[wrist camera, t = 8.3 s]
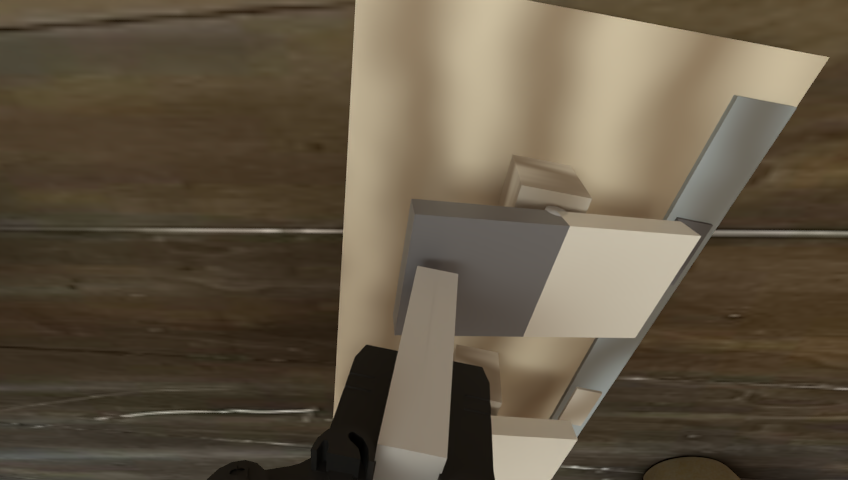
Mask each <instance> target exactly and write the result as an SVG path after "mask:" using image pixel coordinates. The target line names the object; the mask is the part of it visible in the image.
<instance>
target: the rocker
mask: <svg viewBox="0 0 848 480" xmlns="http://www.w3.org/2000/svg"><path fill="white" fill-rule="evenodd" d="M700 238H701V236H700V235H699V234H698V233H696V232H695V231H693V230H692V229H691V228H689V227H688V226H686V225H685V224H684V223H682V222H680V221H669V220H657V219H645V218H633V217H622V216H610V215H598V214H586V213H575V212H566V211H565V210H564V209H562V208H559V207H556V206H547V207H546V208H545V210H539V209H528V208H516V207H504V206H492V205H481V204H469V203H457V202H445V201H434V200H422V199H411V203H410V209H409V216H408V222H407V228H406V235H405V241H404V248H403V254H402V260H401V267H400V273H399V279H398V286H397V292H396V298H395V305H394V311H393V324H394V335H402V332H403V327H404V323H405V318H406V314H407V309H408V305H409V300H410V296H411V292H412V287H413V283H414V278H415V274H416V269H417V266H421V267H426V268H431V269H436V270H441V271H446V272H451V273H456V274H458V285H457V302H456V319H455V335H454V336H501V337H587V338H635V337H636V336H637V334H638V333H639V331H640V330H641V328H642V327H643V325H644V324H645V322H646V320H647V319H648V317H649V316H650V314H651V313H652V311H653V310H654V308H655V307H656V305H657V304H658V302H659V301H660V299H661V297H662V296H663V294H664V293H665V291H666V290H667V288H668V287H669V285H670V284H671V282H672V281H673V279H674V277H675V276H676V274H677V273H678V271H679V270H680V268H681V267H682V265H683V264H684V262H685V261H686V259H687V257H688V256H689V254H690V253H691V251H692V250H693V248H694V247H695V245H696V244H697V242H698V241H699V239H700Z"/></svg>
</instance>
